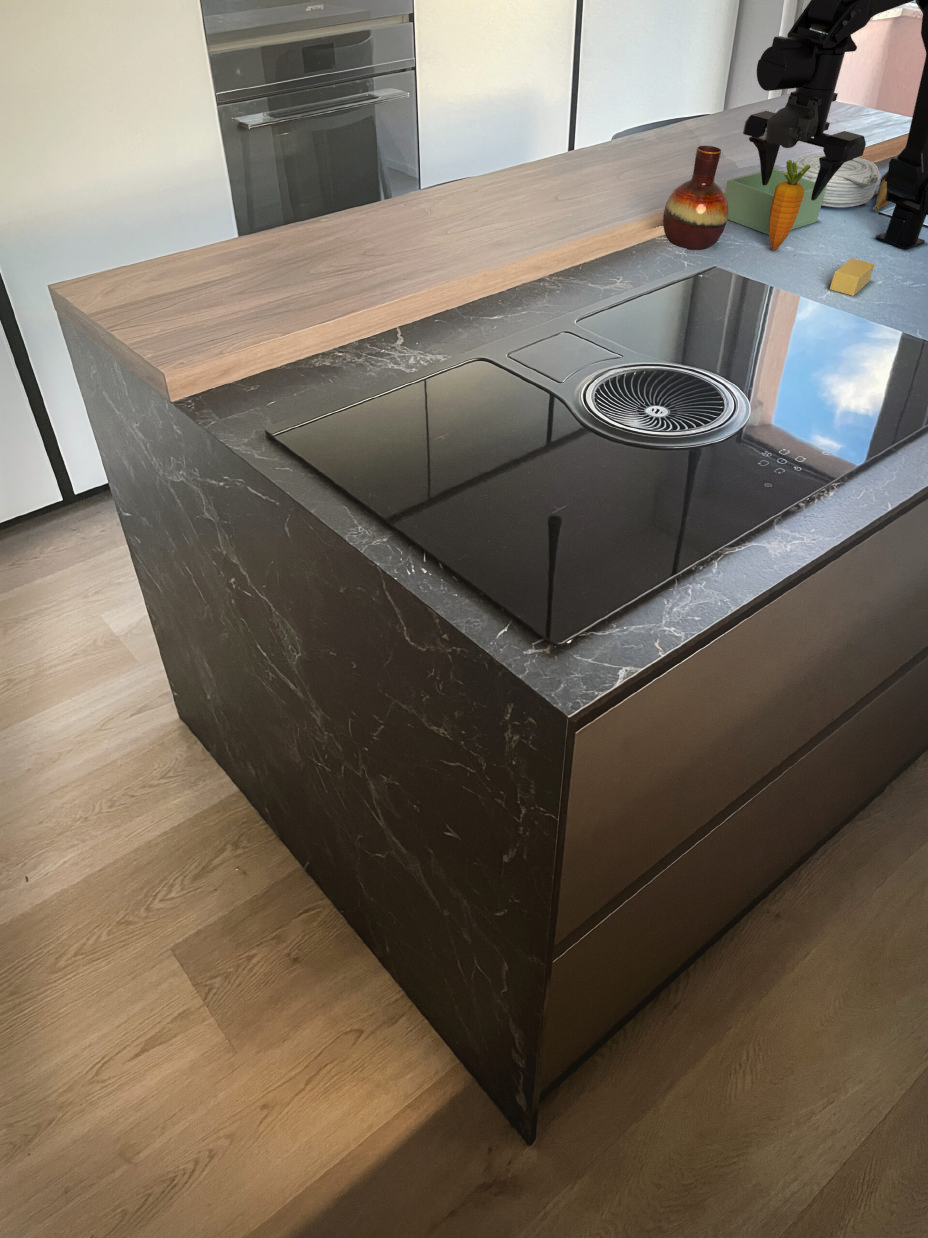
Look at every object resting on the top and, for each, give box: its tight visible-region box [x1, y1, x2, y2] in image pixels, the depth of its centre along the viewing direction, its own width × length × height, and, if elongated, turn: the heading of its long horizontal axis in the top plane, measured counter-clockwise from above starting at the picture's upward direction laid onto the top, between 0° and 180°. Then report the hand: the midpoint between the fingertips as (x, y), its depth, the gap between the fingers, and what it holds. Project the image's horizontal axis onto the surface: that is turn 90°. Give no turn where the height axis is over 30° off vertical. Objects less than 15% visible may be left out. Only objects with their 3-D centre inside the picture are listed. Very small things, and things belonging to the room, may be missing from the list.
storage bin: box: [724, 168, 827, 236], centre depth 176 cm, size 14×12×7 cm
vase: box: [662, 145, 728, 251], centre depth 162 cm, size 11×11×15 cm
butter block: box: [829, 257, 876, 297], centre depth 154 cm, size 8×4×3 cm, turn 144°
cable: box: [792, 153, 881, 208], centre depth 187 cm, size 18×18×6 cm
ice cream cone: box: [872, 171, 891, 213], centre depth 188 cm, size 6×6×15 cm
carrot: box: [768, 159, 811, 252], centre depth 161 cm, size 5×5×15 cm
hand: (788, 192), depth 153 cm, fingers open, 9 cm apart
